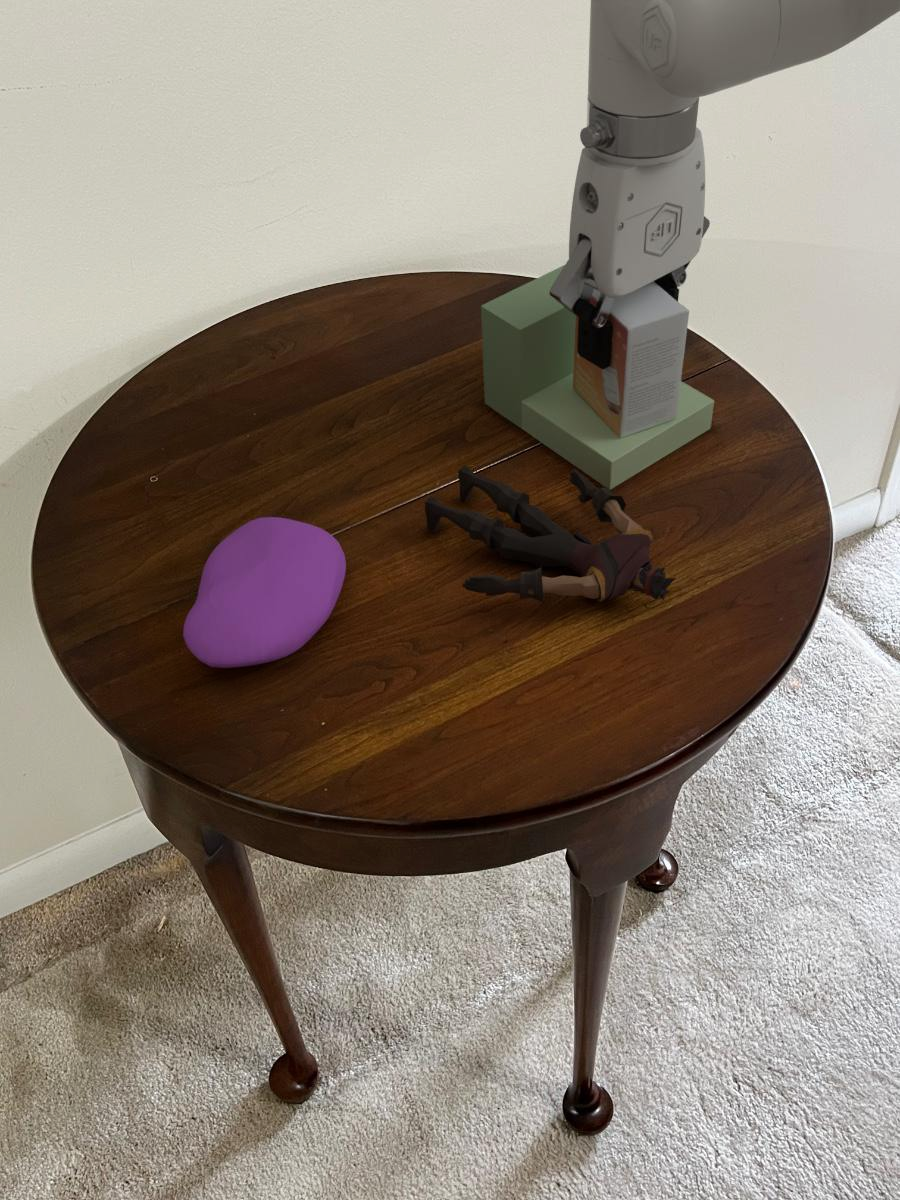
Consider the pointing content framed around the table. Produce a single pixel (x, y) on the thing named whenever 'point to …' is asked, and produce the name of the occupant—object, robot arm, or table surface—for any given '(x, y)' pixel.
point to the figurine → (555, 544)
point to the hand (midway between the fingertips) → (626, 341)
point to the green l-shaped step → (567, 389)
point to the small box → (637, 362)
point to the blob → (264, 593)
